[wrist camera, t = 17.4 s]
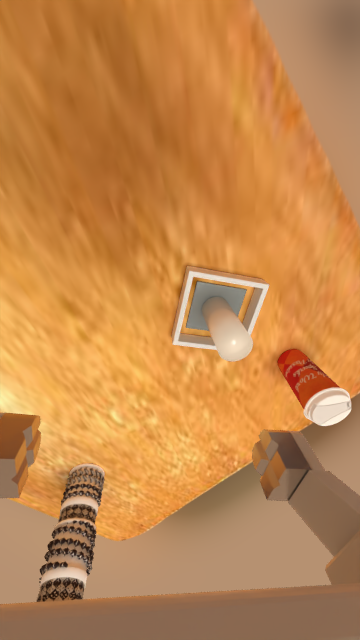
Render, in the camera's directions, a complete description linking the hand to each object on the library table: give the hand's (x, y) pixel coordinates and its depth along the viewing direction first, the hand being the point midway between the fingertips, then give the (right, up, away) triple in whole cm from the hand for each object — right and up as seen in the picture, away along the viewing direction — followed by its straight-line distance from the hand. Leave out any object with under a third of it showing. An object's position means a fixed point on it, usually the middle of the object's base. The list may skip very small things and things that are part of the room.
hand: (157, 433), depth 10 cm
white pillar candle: (+7, +6, +37) cm, 38 cm away
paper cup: (+24, -4, +45) cm, 51 cm away
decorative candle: (-22, -34, +55) cm, 68 cm away
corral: (+7, +6, +37) cm, 39 cm away
